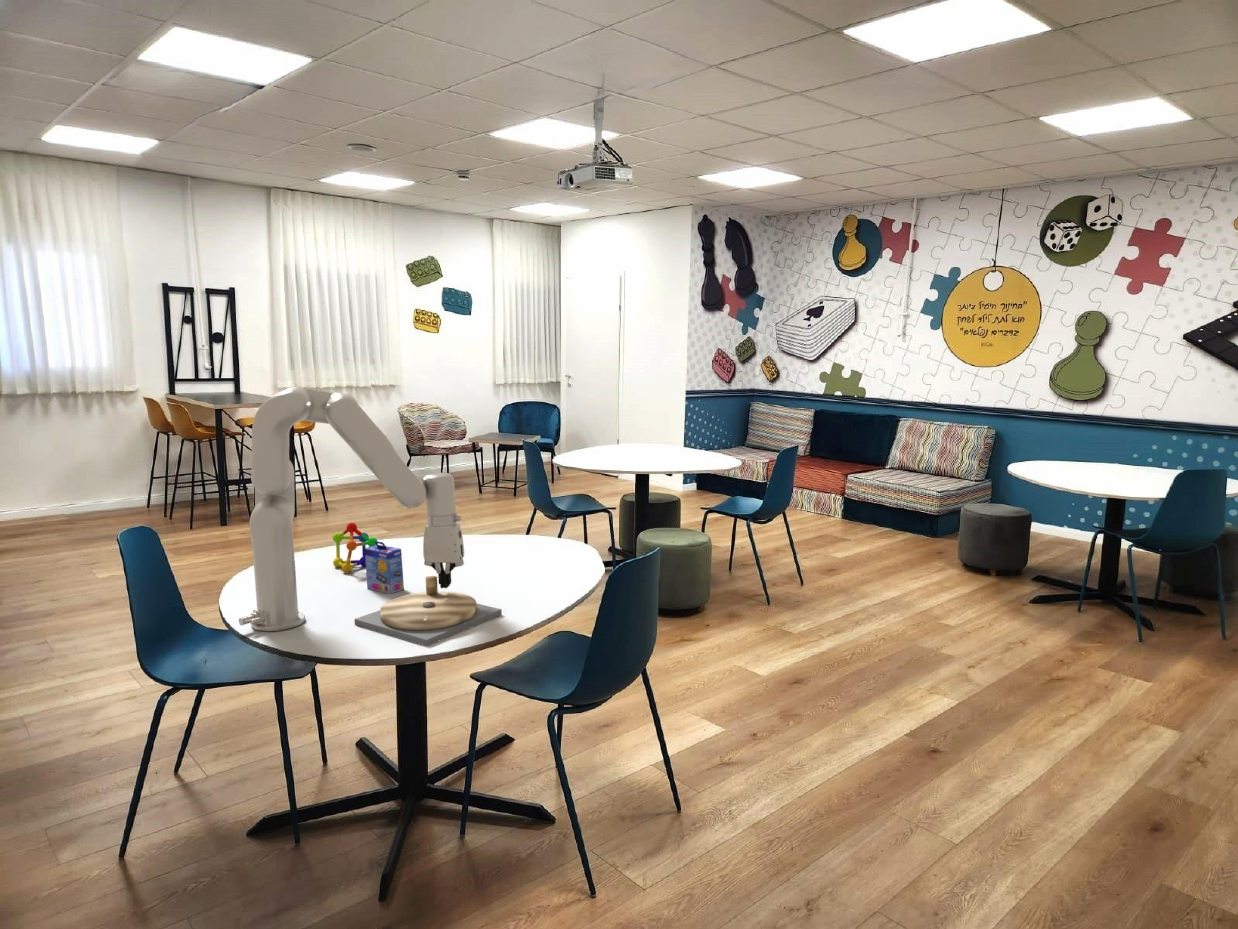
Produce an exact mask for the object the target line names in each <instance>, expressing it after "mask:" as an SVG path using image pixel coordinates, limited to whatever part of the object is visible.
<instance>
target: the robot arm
mask: <svg viewBox="0 0 1238 929" xmlns="http://www.w3.org/2000/svg"><path fill="white" fill-rule="evenodd" d="M303 421H305V422H312V423H318V424H328V425H330V427H332V428H333V430H335V432H336V433H337V434H338V435H339V437H340V438H341V439H342V440H343V441H344V442H345V443H346V444H347V445H348V446H349V447H350V449H351V450H352V451H353V453H355V454H356V455H357V457H358V458H359V459H360V460H361V461H362V462H363V464H364V465H365V466H366V468H368V469H369V470H370V471H371V472H372V473H373V475H375V476H374V477H376V478H377V479H378V481H379V482H380V484H382V485H383V487H384V488H385V489H386V491H388V492H389V493H390V494H391V495H392V497H393V498H395V500H396V501H397V502H398V503H399V504H400V505H402V506H403V507H405V508H407V509H414V508H418V507H420V506H422V504H423V503H424V502H425V503H426V521H427V522H426V524H425V526H424V531H423V545H422V546H423V548H422V552H423V553H422V554H423V559H424V560H423V562H424V563H423V564H424V566H427V567H431V568H433V570H434V571H435V572H436V574H437V580H438V585H439V586H440V589H448V588H449V587H450V586H451V585H452V571H453V570H454V569H456V568H458V567H463V565H464V564H465V562H464V557H465V544H464V537H463V532H462V529H461V525H460V523H459V522H461V521H462V516H461V515H458V513H457V509H456V490H455V478H454V476H453V475H452V473H449V472H436V473H435V472H434V473H431V474H424V473H423V474H422V473H421V474H420V473H414V472H413V471H412V470H411V469H410V468H409V466H408V465H407V464H406V462H404V461H403V459H402V458H401V457H400V455H399V453H397V451H396V450H395V447H394V445H393V444H392V443H391V441H390V439H389V438H388V437H387V436H386V435H385V433H384V432H383V431H382V430H381V428H379V427H378V426H377V425H376V423H375V422H374V421H373V420H372V419H371V418H370V417H369V415H368V414H367V413H366V411H364V409H363V408H362V407H361V406H360V404H359V403H358V401H357V399H356V398H355V397H353V396H352V395H350V394H349V393H348V394H347V393H343V392H333V391H329V390H328V391H326V390H318V389H314V388H306V387H299V386H290V387H288V388H286V389H284V390H282V391H280V392H278V393H276V394H275V395H273V396H270V397H269V398H268V399H266V400H265V401H264V402H263V403H261V405H260V406H259V408H257V411H256V412H255V415H254V417H253V421H252V426H251V427H252V428H251V469H250V470H251V471H250V480H251V484H252V486H253V488H254V503H255V505H254V508H253V510H252V511H251V514H250V517H249V535H250V541H251V548H252V560H253V570H254V573H253V574H254V583H255V586H254V587H255V595H256V596H255V597H256V599H255V600H256V607H255V608H253V609H252V612H251V613H250V615H246V616H242V617H239V619H238V623H239V625H240V626H245V625H248V624H250V625H251V628H252V629H254V630H256V631H260V632H277V631H278V632H279V631H284V630H288V629H293V628H295V627H298V626H300V625H302V624H303V623H304V622H305V621H306V614H304V613H303V612H301V611H299V603H298V588H297V576H296V559H295V548H294V547H295V546H294V536H293V534H294V533H293V522H294V517H295V513H296V512H295V511H296V509H295V504H296V503H295V501H296V499H295V497H296V496H295V467H294V465H293V463H292V461H291V460H290V432H291V429H292V427H293V426H294V425H296V424H298V423H300V422H303ZM444 564H445V565H444Z"/></svg>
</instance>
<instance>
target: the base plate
mask: <svg viewBox="0 0 1238 929" xmlns="http://www.w3.org/2000/svg"><path fill="white" fill-rule="evenodd" d="M476 604H477V612H476V614H475V615H474V616H473V617H472V618H471V619H469V620H467V621H465V622H463V623H460V624H457V625H453V626H449V627H444V628H438V629H429V630H406V629H399V628H394V627H391V626H388V625H386V624H384V623H383V622H382V621H381V618H380V609H379V610H376V611H373V612H371V613H367V614H365V615H362V616H359V617H357V618H354V626H358V627H361V628H365V629H368V630H372V631H375V632H378V633H382V634H385V635H389V636H392V637H395V638H399V639H401V640H402V639H403V640H406V641H409V642H411V641H412V642H413V643H415V644H418V643H420V644H419V645H422V644H423V645H422V646H426V647H428V646H431V645H432V643H433V644H435V643H438V642H440V641H442V640H445V639H447V638H450V637H452V636H454V634H455V635H457V634H459V633H461V631H462V632H463V630H464V631H466V630H469V629H471V628H473V627H472V626H474V627H476V626H479V625H480V623H481V624H483V623H486V622H488V621H490V619H491V620H492V619H495V617H496V618H497V616H498V617H500V616H502V615H503V614H502V609H501V608H498V607H493V606H489V605H486V604H485V605H484V604H481V603H477V602H476ZM478 624H479V625H478ZM470 627H471V628H470ZM456 633H457V634H456ZM439 640H440V641H439Z"/></svg>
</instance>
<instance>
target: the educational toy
mask: <svg viewBox="0 0 1238 929" xmlns="http://www.w3.org/2000/svg"><path fill="white" fill-rule="evenodd" d="M348 533H349V535H346V534H348ZM354 533H355V534H356V535H354ZM343 540H348V542H346V545H345V546H346V549H347V550H348V552H347V558H346V560H343V558H342V557H341V554H340V553H341V550H340V545H341V544H340V543H341V542H342V541H343ZM355 540H359V542H356V541H355ZM332 541H333V542H335V545H336V547H335V548H336V551H335V552H336V558H334V560H333V561H332V563H333V566H334V567H335V568H341V571H342V572H343V573H345V574H349V573H350V572H351V571H352V570H353V568H356V567H358V566H362V567H366V560H365V548H367V547H366V546H368V547H371V546H375V545H376V544H375V542H374V541H378V539H377V538H376V537H372V536H371V537H369V534H368V533H366V532H362V531H360V530H359V529H358V526H357V524H356V523H355V522H349V523H347V525H346V529H345V530H344V531H342V532H335V533H334V534H333V535H332ZM358 547H361V550H362V552H361V553H362V557H360V558H359V559H352V554H353V551H355V550H356V549H357V548H358ZM351 559H352V560H351Z"/></svg>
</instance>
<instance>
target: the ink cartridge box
mask: <svg viewBox="0 0 1238 929" xmlns="http://www.w3.org/2000/svg"><path fill="white" fill-rule="evenodd" d="M374 542H375V544H376V545H375V546H371V547H369V546H368V547H366V548H365V560H366V566H365V572H366V573H365V574H366V586H367V588H366V589H368V590H373V591H376V592H380V593H384V594H389V595H391V594H395V593H396V592H400V591H403V590H404V589H405V584H404V573H403V572H404V571H403V570H404V569H403V556H402V555H403V553H402V549H401V548H400V547H394V546H387V545H386V544H385V543H384V542H382V541H378V540H377V541H374Z"/></svg>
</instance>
